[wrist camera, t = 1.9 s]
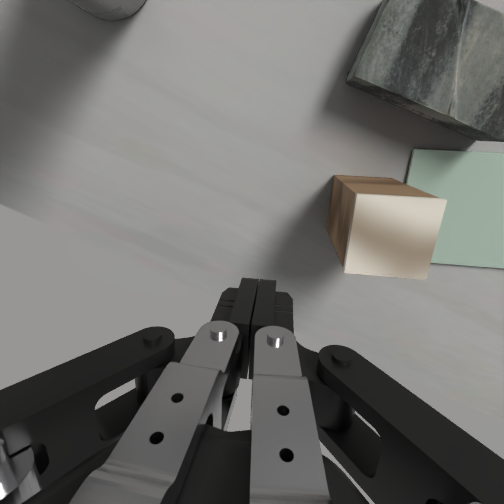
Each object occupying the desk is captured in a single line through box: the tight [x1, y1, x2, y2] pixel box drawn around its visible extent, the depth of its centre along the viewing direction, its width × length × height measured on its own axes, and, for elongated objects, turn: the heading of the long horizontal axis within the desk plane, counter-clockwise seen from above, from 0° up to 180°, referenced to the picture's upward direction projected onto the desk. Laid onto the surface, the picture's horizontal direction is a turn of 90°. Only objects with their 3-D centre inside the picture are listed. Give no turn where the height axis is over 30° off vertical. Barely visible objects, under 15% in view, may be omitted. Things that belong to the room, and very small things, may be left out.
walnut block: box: [327, 175, 447, 280], centre depth 28 cm, size 6×6×12 cm
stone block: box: [346, 0, 504, 142], centre depth 26 cm, size 9×14×5 cm, turn 68°
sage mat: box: [405, 149, 504, 268], centre depth 33 cm, size 12×14×1 cm
